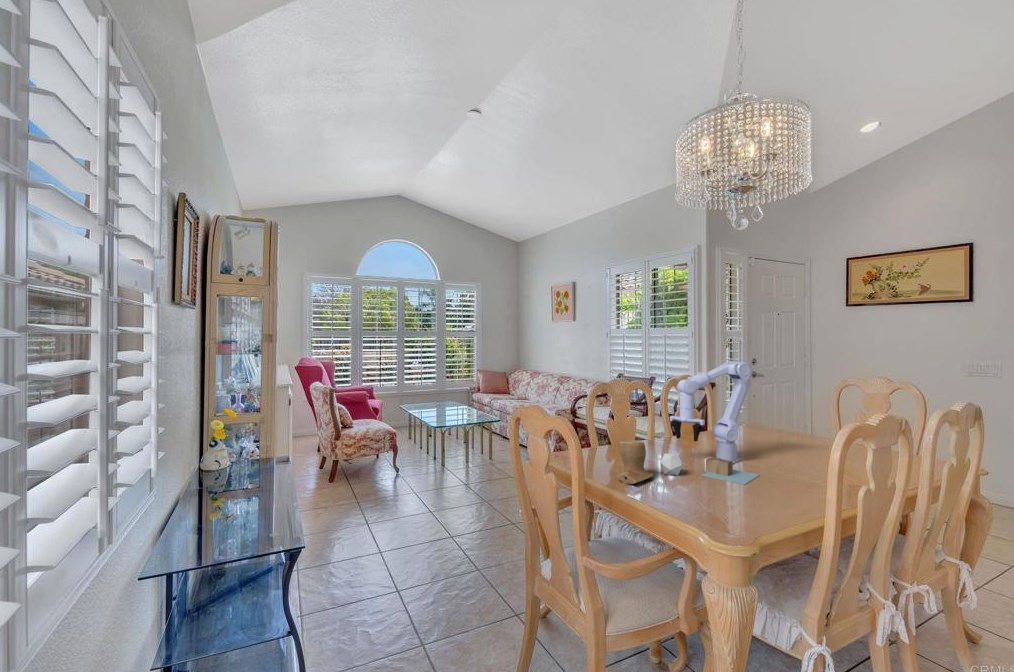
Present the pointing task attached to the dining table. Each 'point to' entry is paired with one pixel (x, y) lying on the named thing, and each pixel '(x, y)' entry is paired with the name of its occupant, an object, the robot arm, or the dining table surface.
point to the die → (671, 464)
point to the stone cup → (633, 462)
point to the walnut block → (719, 466)
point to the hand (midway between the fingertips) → (687, 439)
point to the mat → (734, 477)
